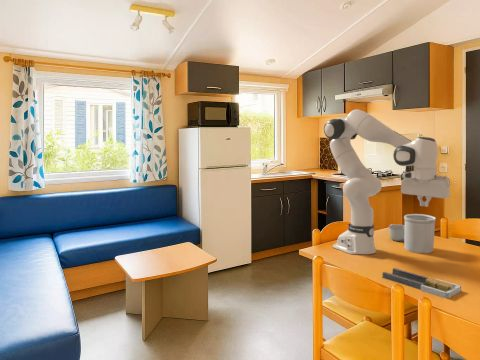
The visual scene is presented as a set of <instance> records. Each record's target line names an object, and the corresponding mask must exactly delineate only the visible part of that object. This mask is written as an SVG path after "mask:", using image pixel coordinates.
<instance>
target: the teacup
mask: <svg viewBox="0 0 480 360" xmlns="http://www.w3.org/2000/svg"><path fill="white" fill-rule="evenodd" d="M404 231H405V224H394V223H391V224H389V226H388V236H389V238H390V239H392V241H394V242H404Z"/></svg>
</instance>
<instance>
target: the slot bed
mask: <svg viewBox="0 0 480 360" xmlns="http://www.w3.org/2000/svg"><path fill="white" fill-rule="evenodd" d="M381 278H382V279H384V280H388V281H391V282H394V283H398V284H401V285H405V286H408V287H410V288H413V289H417V290H419V291H421V285H425V281H426V279H428V278H429V277H427V276H425V275H421V274H418V273H414V272H411V271H407V270H404V269H399V268H398V267H397V268H396V267H394V268H392V273H391V272H387V271H383V272H382V277H381Z"/></svg>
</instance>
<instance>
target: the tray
mask: <svg viewBox="0 0 480 360" xmlns="http://www.w3.org/2000/svg"><path fill="white" fill-rule="evenodd" d="M436 279H437V280H440V281H444V282H447V283H450V284H453V289H451V290H449V291H447V292H445V291H441V290H438V289H435V288H432V287H428V286H425V285H421V290H420V291H421V292H425V293H427V294H430V295H434V296H437V297H441V298H444V299H447V300H449V299H450V298H452V297H453V296H455V295H457V294H459V293H460V292H462V285H459V284H456V283H453V282H449V281H445V280H442V279H440V278H436Z"/></svg>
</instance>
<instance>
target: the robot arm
mask: <svg viewBox="0 0 480 360" xmlns="http://www.w3.org/2000/svg"><path fill="white" fill-rule="evenodd" d="M323 132H324V135H325V137H326V138H327V139H329V140H330V142H329V148H330V151H331V154H332V156H333V159H334V160H335V162H336V164H337V166H338V167H339V170H340V171H341V173H342V175H345V176H346V177H347V178H349V179H348V180H346V181H345V182H344V183H343V185H342V192H343V194H344V196H345V197H346V198H347V200H348V203H349V207H350V223H348V224H347V225H346V227H347V229H346V230H345V231H344V232H342V233H341V234H339V236H338V237H337V241H336V243H334V244H333V245H332V248H334V249H337V250H338V251H341V252H345V253H347V254H349V255H372V254H375V253H377V250H376V246H375V240H374V239H375V238H374V234H375V225H374V209H373V208H372V206H371V204H370V201H369V197H373V196H376V195H377V194H379V193H380V192H381V190H382V187H383V186H382V185H383V184H382V181H381V179H379V178H378V176H375V175H374V174H372V172H371V171H370V170H369V169H368V168H367V167H366V166H365V164H363V162H362V161H361V159H360V158H359V156H358V154H357V152H356V150H355V149H354V147H353V146H352V143H351V140H355V139H356V138H357V136H359V137H360V138H362V139H364V140H366V141H369V142H371V143H372V142H373V143H383V144H387V145H390V146H393V147H394V148H395V149H394V150H393V155H392V156H393V160H394V162H395V163H396V165H398V166H401V167H412V166H413V167H414V168H413V170H410V171H407V172H404V173H403V174H402V177H403V178H402V180H401V183H400V184H401V185H400V192H401V194H403V195H411V196H417V197H416V198H417V200H418V201H419V206H420V207H426V208H428V207H429V203H430V201H431V200H432V198H438V199H448V198H450V196H451V187H450V185H451V180H450V178H449V177H448V176H447V175H437V173H438V166H437V160H438V144H437V143H438V142H437V141H436V139H435V138H432V137H428V136H418V137H416V138H415V139H414V140H412V139H409V138H407V137H406V136H404V135H402V134H400V133H399V132H397V131H395V130H393V129H392V128H390V126H387V125H386V124H384V123H383V122H381V120H378V119H377V118H376V117H374V116H373V115H372V114H370V113H368V112H366V111H363V110H361V109H353V110H351V111H349V113H348V114H347V116H341V117H337V118H332V119H330V120H327V121H326V122H325V123H324V126H323ZM424 197H425V199H426V200H425V201H424V200H423V198H424Z"/></svg>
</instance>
